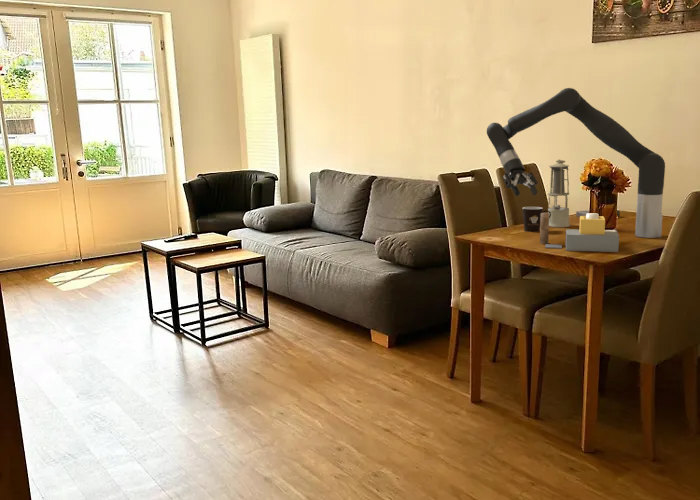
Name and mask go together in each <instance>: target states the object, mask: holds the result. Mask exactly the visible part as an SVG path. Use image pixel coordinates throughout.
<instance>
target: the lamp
mask: <svg viewBox="0 0 700 500" xmlns="http://www.w3.org/2000/svg"><path fill="white" fill-rule="evenodd" d="M564 163H566V161H565V160H561V159H558V160H556V161H555V164H551V165H549V168H550V182H549V183H550V188H549V189H550V190H549V193H548V194H547V195H548V203H547V210H548V211H550V212H551V217H550V218H549V227H552V228H566V227H567V228H568V227H570V226H571V224H570V208H569V207H568V202H569V201H568V199H569V198H568V196H569V195H570V192H569V190H570V189H569V185H570V182H569V165H568V164H564ZM565 170H566V176H567V178H566V179H565ZM565 181H567V192H566V190H565ZM558 196H559V197H561V196H564V197H565V199H564V200H565V203H564V204H565V206H563V207H561V205H559V204H558ZM551 197H554V200H553V201H554V202H553V203H554V204H553V205H552V207H550V205H551V204H550V202H551ZM547 213H549V212H547ZM549 216H550V214H549Z"/></svg>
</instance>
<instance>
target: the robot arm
mask: <svg viewBox="0 0 700 500" xmlns="http://www.w3.org/2000/svg"><path fill="white" fill-rule="evenodd" d="M562 112H563V113H564V112H565V113H567V114H570V115H571V116H572V117H574V118H575V119H577V120H578V121H579V122H580V123H582V125H584V127H585V128H587V130H589V132H590V133H592V135H593V136H595V137H596V138H597V139H598V140H599V141H601V142H602V143H603V144H605V145H606V146H607V147H609V148H610V149H611V150H614V151H616V153H617V152H618V153H619V154H621V155H623V156H624V157H626V159H628V160H629V161H630V162H632V163H633V164H634V165H635V166H636V167H637V168H638V180H637V182H638V183H637V196H636V197H637V199H636V212H635V213H636V215H635V229H634V230H635V232H634V235H635V236H636V237H638V238H647V239H648V238H649V239H650V238H651V239H652V238H653V239H655V238H662V228H663V212H662V211H663V199H664V198H663V197H664V187H665V186H664V185H665V176H666V175H665V172H666V162H665V160H664V158H663V157H662V156H661V155H660V154H658V153H657V152H654V151H653V150H651V149H649V148H648V147H646V146H645V145H643V144H642V143H640V142H639V141H638V140H637V139H636V138H635V136H633V135H632V134H631V133H630V132H629V131H628V130H627V129H626V128H625V127H624V126H623V125H621V124H620V123H618V121H616V120H614V118H612V117H610V116H609V115H607V114H606V113H604V112H602V111H600V110H599V109H597V108H595V107H594V106H592V105H591V104H590V102H587V101H586V99H585V98H584V97H582V95H581V94H580V93H579V91H577V90H576V89H575V88H573V87H566V88H564V89H561V90H560V91H559V92H558V93H556V94H555V95H553V96H552V97H550V98H549V99H548V100H546V101H543V102H542V103H540V104H538V105H535V106H533V107H531V108H529V109H526V110H524V111H522V112H520V113H517V114H516V115H513V116H512V117H510V118H508V120H507V124H506V125H504V126H502V124H500V123H499V122H491V123H490V124H489V125H488V126H487V128H486V135H487V137H488V139H489V141H490V143H492V146H493V147H494V149H495V151H496V152H495V153H496V154H497V157H498V158H499V160H500V164H501V165H502V168H503V170H504V172H505V173H504V175H503V176H502V180H503V182H504V185H505V187H506V189H511V190H512V191H513V192H512V193H513V194H514V195H515V197H519V195H520V194H521V191H520V189H519V187H518V185H524V186H525V187H526V186H527V187H528V188H529V189H530V193H531V194H532V196H536V195H537V193H538V190H537V188H536V186H537V184H538V182H539V181H538V180H537V179H536V177H535V176H534V174H533V172H529V173H527V172H526V171H525V166H524V165H523V163H522V160H521V158H520V156H519V155H518V153H517V152H516V150H515V148H514V146H513V144H512V143H511V141H510V139H511V138H513V137H514V136H515V135H517V134H518V133H521V132H522V131H525V130H526V129H529V128H531V127H533V126H535V125H536V124H538V123H540V122H541V121H543V120H545V119H548V118H549V117H551V116H554V115H557V114H559V113H562Z"/></svg>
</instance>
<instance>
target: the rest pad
mask: <svg viewBox="0 0 700 500" xmlns="http://www.w3.org/2000/svg"><path fill="white" fill-rule="evenodd" d="M544 248H545V249H559V250H560V249H562V244H554V243H551V244H549V243H548V244H544Z"/></svg>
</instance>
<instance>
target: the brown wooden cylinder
mask: <svg viewBox="0 0 700 500" xmlns="http://www.w3.org/2000/svg"><path fill="white" fill-rule="evenodd" d="M549 227H550V226H549V213H548V212H544V213H541V218H540V231H539V244H541V245H545V244H549V235H550V234H549V233H550V231H549V229H550V228H549Z"/></svg>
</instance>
